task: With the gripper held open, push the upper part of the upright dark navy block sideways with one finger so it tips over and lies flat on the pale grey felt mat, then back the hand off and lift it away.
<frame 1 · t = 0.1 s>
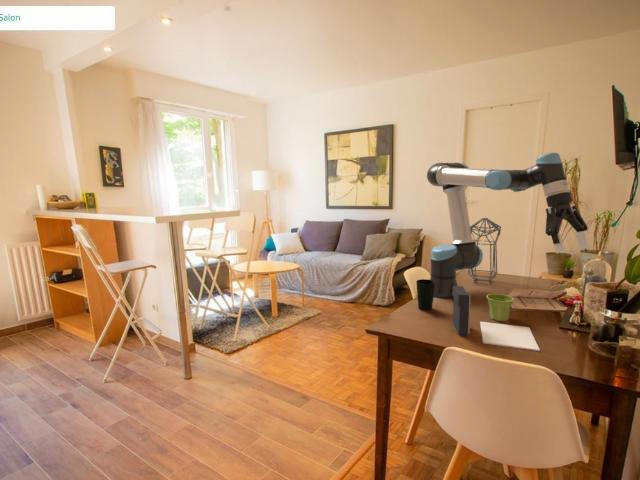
hand: (572, 251, 118), 28 cm above the table, tool tilted 20°, fingers open, 13 cm apart
felt mat: (506, 335, 114), on the table
dark navy block: (460, 330, 120), on the table
plant pot: (498, 318, 129), on the table
cup: (425, 308, 142), on the table
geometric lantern: (482, 282, 178), on the table
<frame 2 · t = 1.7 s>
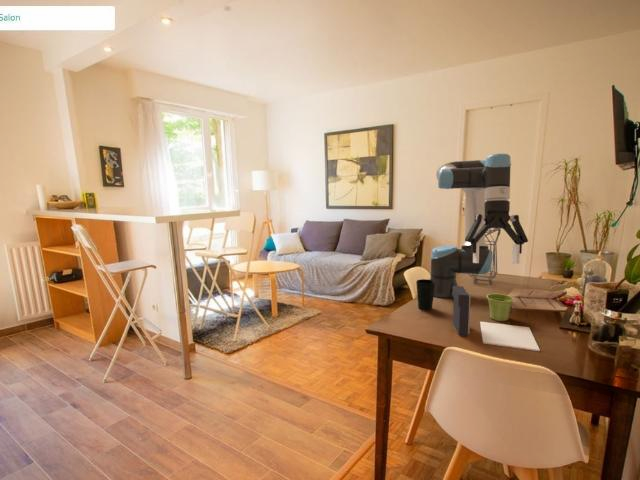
hand: (495, 263, 111), 26 cm above the table, tool pointing down, fingers open, 13 cm apart
nothing on the table moved.
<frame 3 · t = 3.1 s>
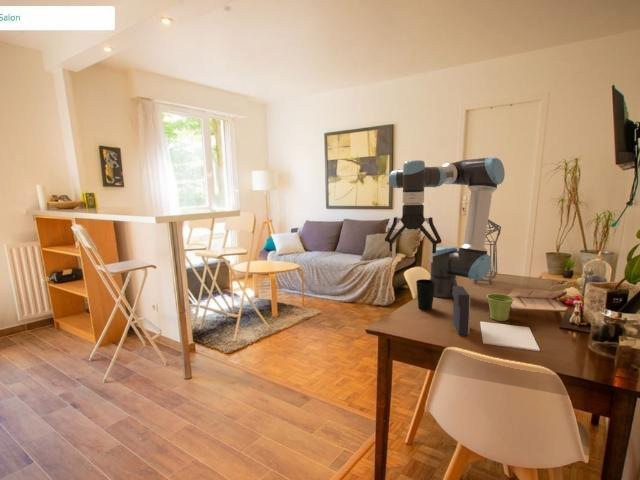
hand: (412, 260, 123), 25 cm above the table, tool pointing down, fingers open, 13 cm apart
nothing on the table moved.
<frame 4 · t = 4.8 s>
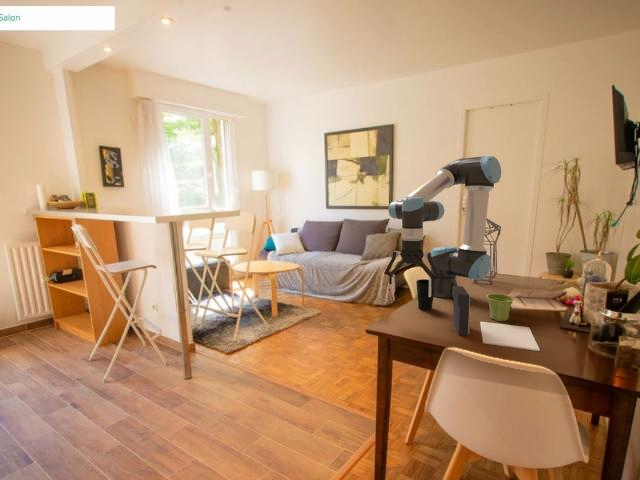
hand: (411, 294, 125), 12 cm above the table, tool pointing down, fingers open, 13 cm apart
nothing on the table moved.
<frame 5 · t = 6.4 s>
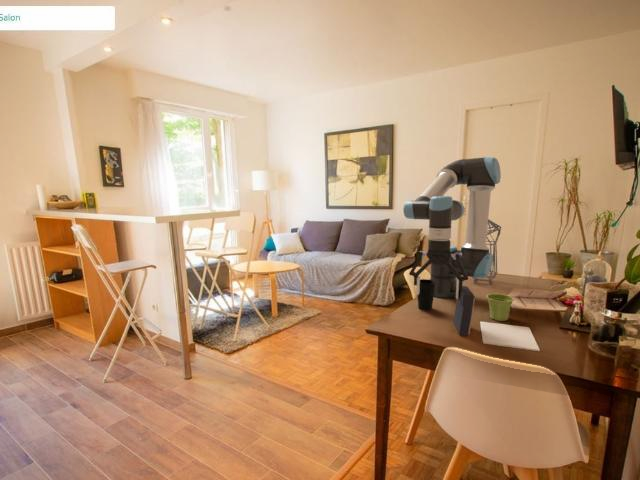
hand: (437, 295, 121), 12 cm above the table, tool pointing down, fingers open, 13 cm apart
dark navy block: (460, 329, 120), on the table, touching gripper
everything else where it was.
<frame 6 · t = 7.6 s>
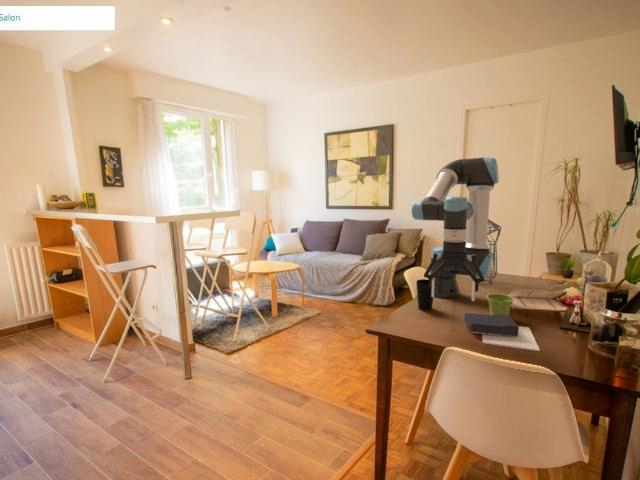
hand: (452, 298, 119), 12 cm above the table, tool pointing down, fingers open, 13 cm apart
dark navy block: (466, 321, 119), point 3 cm above the table, touching felt mat
everything else where it was.
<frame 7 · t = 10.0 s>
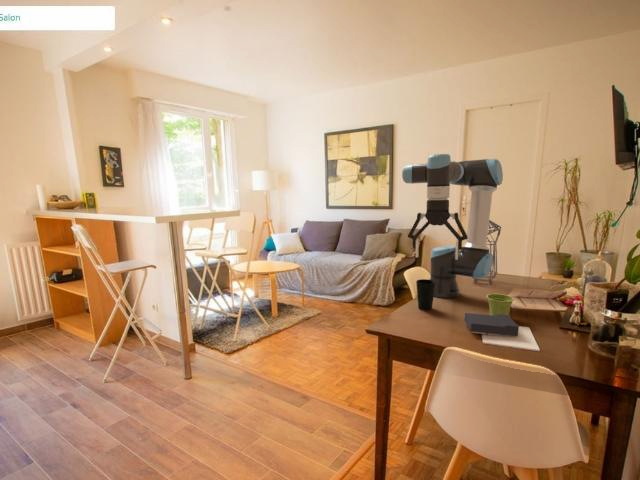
hand: (436, 257, 120), 26 cm above the table, tool pointing down, fingers open, 13 cm apart
nothing on the table moved.
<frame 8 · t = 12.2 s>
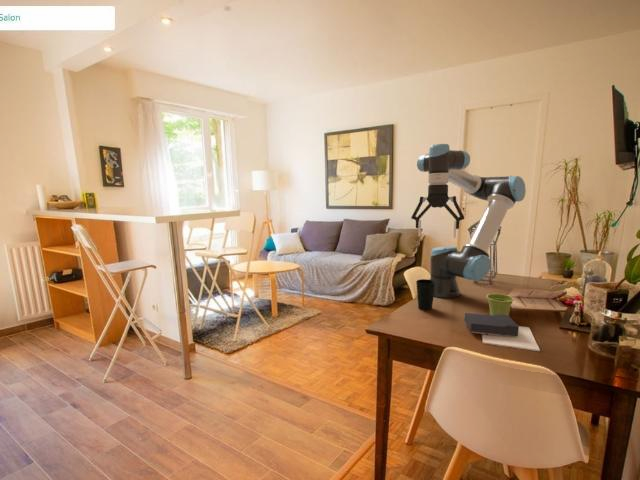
hand: (436, 236, 134), 32 cm above the table, tool pointing down, fingers open, 13 cm apart
nothing on the table moved.
at the end: dark navy block tilted 93°; dark navy block inside the target area (8.9 cm from its centre), point 3.1 cm above the table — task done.
